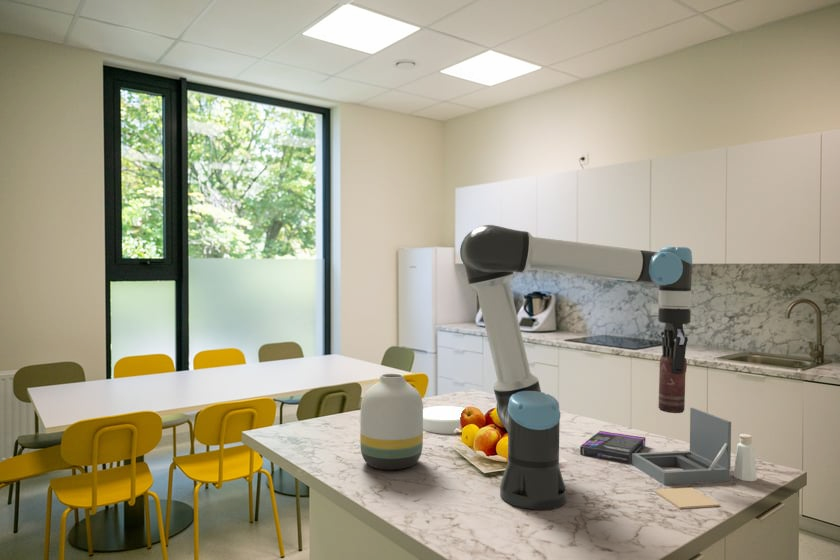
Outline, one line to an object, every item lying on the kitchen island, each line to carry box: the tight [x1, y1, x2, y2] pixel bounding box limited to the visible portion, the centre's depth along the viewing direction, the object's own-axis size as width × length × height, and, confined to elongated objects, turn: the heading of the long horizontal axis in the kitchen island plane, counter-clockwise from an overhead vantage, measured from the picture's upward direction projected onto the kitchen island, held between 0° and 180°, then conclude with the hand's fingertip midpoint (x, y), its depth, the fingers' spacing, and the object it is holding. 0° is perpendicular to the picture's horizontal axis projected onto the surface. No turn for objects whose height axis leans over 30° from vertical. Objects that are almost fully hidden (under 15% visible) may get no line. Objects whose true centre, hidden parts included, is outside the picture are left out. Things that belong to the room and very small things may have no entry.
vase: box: [359, 373, 424, 471], centre depth 152 cm, size 17×17×24 cm
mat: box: [653, 487, 721, 510], centre depth 130 cm, size 10×10×1 cm
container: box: [423, 405, 465, 435], centre depth 192 cm, size 20×20×5 cm
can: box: [657, 354, 688, 414], centre depth 144 cm, size 6×6×14 cm
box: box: [579, 430, 646, 465], centre depth 166 cm, size 14×4×20 cm
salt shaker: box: [732, 433, 758, 482], centre depth 144 cm, size 5×5×11 cm
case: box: [631, 407, 732, 486], centre depth 147 cm, size 18×15×15 cm
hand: (672, 399), depth 144 cm, fingers closed
